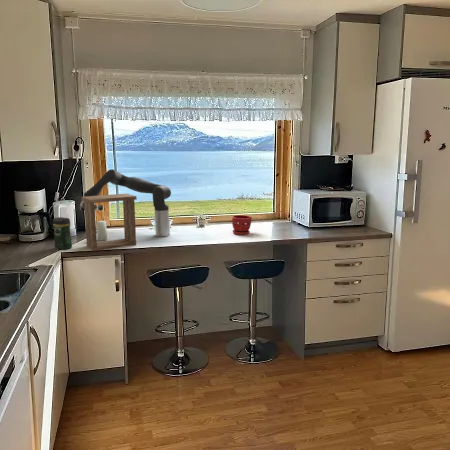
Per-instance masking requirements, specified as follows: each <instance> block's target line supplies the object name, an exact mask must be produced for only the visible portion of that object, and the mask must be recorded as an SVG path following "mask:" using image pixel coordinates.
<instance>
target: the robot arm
mask: <svg viewBox="0 0 450 450" xmlns="http://www.w3.org/2000/svg"><path fill="white" fill-rule="evenodd" d="M108 183H110V184H113V185H116V186H120V187H124V188H127V189H129V190H131V191H134V192H137V193H141V194H151V195H152V202H153V203H152V204H153V207H154V223H155V224H154V225H155V226H154V227H155V228H154V229H155V230H154V232H155V236H157V237H168V236H170V234H171V228H170V227H171V226H170V224H171V223H170V222H171V221H170V214H169V211H170V209H169V208H170V207H169V204H166V202H165V200H167V199H169V198H170V197H171V195H172V191H171V188H170V187H168V186H167V185H163V184H159V183H154V182H151V181H148V180H145V179H143V178H140V177H138V176H137V177H135V176H127V175H124V174H122V173H121V172H119V171H118V170H115V169H111V168H109V170H107V171H106V172H105V173H104V174H103V175H102V176H101V177H100V178H99V179H98V181H97V182H96V183H95V184H94V185H93V186H92V187H90V188H89V189H88V190H86V191H85V192H84V193H83V196H81V195H77V196H78V197H76V196H75V197H76V198H75V199H74V198H73V199H74V201H75V204H76V205H77V206H78V207H79V208H80V209H79V208H78V207H77V206H76V205H75V204H74V205H75V206H76V207H77V208H78V209H79V210H80V211H81V212H85V209H84V201H83V200H82V197H85V196H99V195H100V194H101V192H102V190H103V188H104V187H105V185H107V184H108ZM103 210H104V206H103V205H102V204H95V211H103Z"/></svg>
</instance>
